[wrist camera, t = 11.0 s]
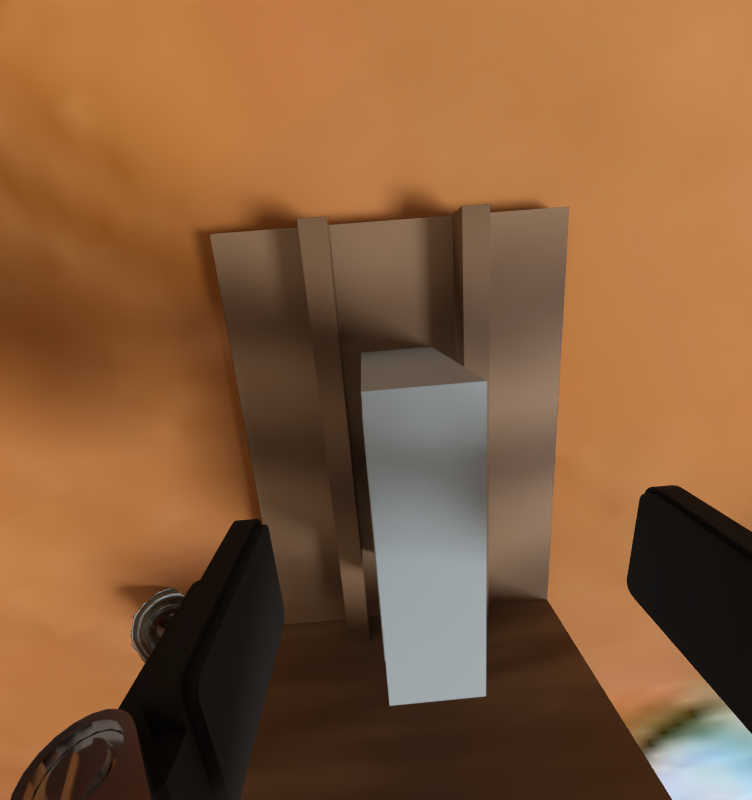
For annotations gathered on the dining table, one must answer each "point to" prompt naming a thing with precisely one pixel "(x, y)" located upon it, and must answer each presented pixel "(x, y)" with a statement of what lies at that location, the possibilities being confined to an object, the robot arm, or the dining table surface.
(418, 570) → the door slab
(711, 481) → the dining table surface
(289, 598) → the track base
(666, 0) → the dining table surface
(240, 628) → the robot arm
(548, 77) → the dining table surface
